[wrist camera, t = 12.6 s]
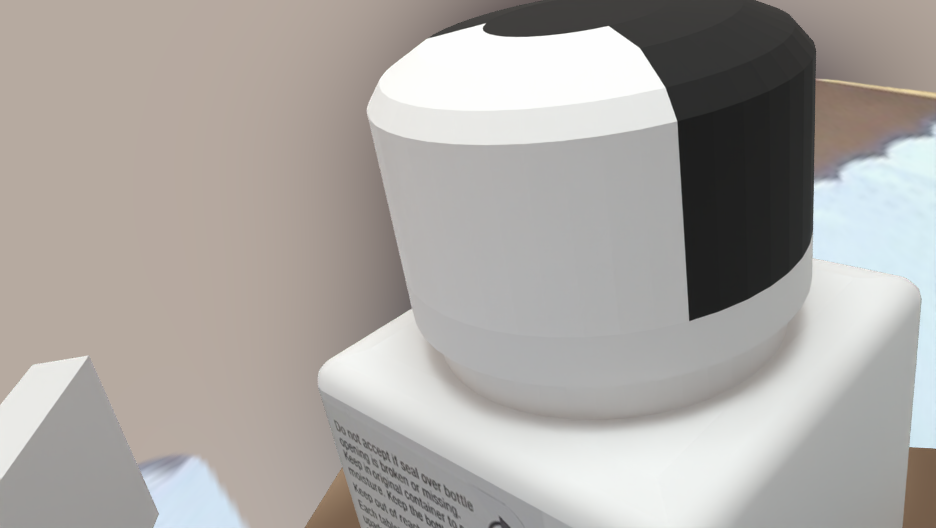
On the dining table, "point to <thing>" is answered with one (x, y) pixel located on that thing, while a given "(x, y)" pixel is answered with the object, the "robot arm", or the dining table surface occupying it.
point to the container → (619, 286)
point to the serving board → (924, 520)
